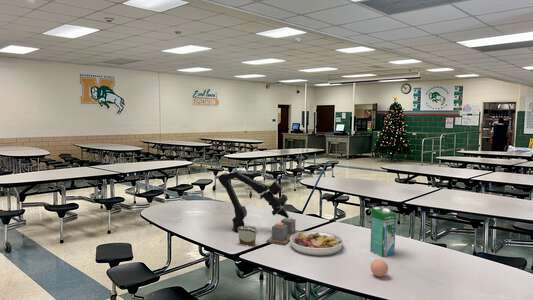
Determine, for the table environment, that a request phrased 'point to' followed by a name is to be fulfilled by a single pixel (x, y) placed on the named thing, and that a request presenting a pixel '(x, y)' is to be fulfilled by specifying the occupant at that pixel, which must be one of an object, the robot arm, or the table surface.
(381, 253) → the milk carton
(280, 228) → the button posts
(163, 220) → the table surface
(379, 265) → the toy ball
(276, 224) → the terracotta button
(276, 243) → the walnut board
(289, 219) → the sage button
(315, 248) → the bowl
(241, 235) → the food container
